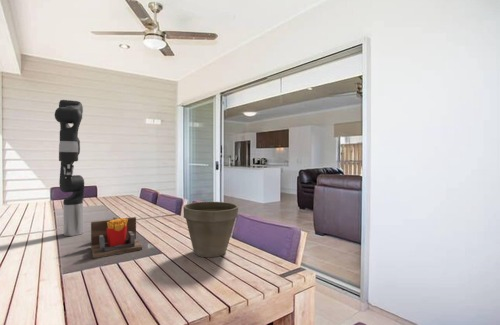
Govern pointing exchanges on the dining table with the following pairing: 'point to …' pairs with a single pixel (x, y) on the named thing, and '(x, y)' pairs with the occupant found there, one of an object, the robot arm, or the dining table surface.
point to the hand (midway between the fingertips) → (68, 185)
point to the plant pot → (210, 226)
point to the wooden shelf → (101, 240)
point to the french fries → (117, 232)
